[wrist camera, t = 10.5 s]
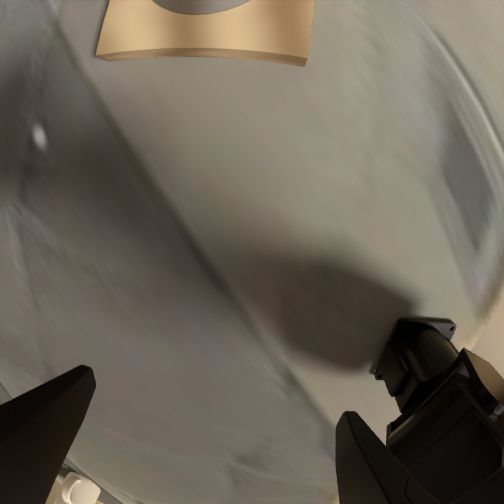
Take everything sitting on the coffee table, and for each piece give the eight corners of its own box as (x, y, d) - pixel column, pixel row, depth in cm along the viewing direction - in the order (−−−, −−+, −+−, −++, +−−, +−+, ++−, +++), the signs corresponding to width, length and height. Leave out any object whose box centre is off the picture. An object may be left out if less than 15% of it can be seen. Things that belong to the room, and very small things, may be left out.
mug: (93, 526, 34) (61, 511, 34) (105, 496, 42) (75, 483, 42) (77, 511, 30) (42, 492, 30) (93, 476, 38) (59, 460, 38)
